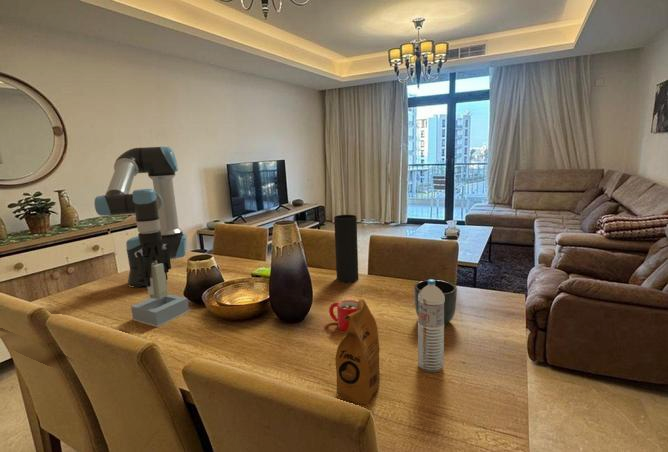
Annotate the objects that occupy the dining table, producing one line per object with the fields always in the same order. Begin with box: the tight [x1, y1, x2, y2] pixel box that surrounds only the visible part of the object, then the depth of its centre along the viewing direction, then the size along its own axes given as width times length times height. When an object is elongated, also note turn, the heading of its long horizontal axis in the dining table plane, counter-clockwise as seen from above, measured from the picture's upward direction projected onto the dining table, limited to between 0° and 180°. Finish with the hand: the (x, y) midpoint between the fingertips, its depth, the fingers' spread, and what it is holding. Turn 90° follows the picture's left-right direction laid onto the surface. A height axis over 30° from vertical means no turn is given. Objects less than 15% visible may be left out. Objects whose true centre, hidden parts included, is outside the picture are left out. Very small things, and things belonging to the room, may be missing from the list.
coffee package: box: [334, 298, 381, 405], centre depth 91 cm, size 10×12×22 cm
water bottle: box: [417, 278, 445, 374], centre depth 99 cm, size 7×7×25 cm
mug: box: [328, 299, 358, 332], centre depth 127 cm, size 8×12×8 cm, turn 59°
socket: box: [130, 293, 190, 328], centre depth 141 cm, size 14×14×6 cm
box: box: [149, 262, 169, 299], centre depth 138 cm, size 5×4×13 cm
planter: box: [413, 279, 458, 327], centre depth 126 cm, size 14×14×13 cm
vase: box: [333, 214, 359, 284], centre depth 170 cm, size 10×10×30 cm
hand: (158, 291), depth 139 cm, fingers closed on box, 5 cm apart
